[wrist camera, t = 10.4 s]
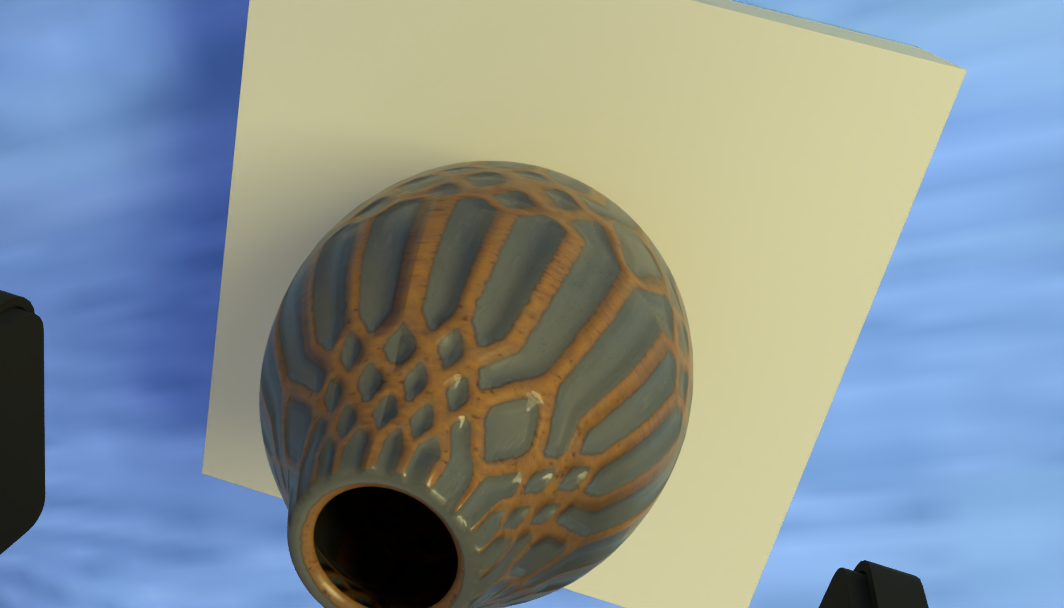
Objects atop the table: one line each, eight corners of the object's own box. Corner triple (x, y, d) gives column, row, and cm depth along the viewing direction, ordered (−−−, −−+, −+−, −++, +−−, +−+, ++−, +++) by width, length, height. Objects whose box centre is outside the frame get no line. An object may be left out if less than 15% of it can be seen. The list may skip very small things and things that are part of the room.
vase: (398, 452, 21) (193, 770, 13) (335, 148, 18) (35, 300, 10) (710, 443, 19) (703, 800, 11) (683, 110, 17) (650, 254, 9)
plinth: (342, -98, 21) (260, -110, 17) (920, 47, 19) (967, 70, 16) (276, 398, 26) (201, 473, 22) (731, 538, 24) (733, 642, 21)
